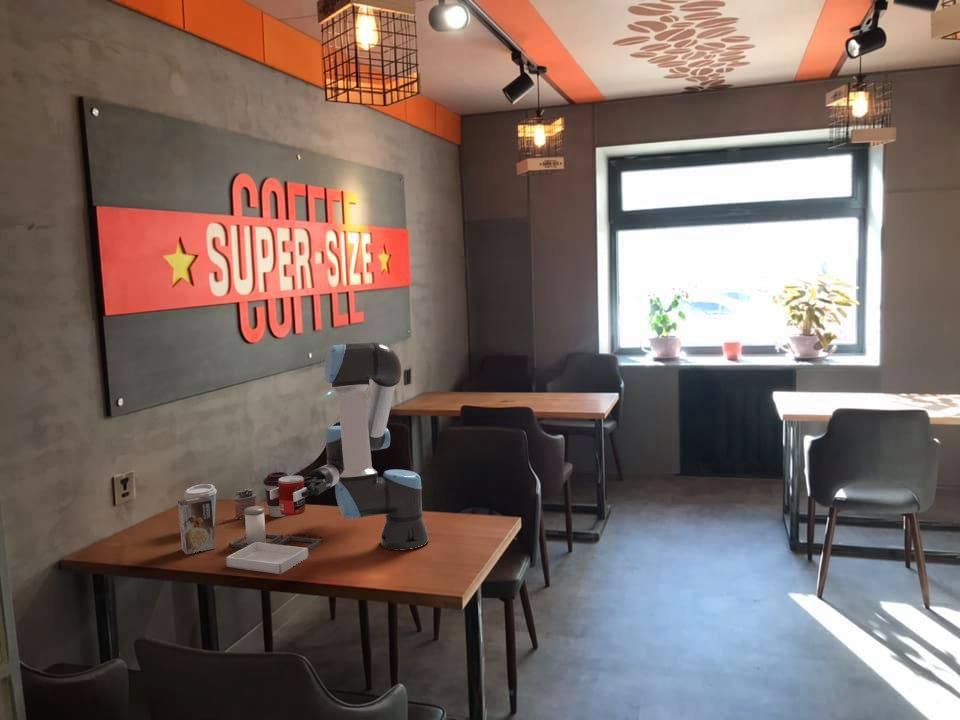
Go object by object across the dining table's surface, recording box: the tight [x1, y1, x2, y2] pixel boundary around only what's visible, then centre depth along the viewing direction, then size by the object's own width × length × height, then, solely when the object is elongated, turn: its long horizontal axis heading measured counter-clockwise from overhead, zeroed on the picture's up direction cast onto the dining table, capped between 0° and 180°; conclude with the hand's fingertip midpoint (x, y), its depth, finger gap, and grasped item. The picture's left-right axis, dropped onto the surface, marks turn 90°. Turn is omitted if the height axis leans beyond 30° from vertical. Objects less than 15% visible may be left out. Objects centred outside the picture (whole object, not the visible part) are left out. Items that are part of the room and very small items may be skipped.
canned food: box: [278, 475, 306, 517], centre depth 252 cm, size 8×8×11 cm
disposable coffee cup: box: [183, 483, 218, 527], centre depth 272 cm, size 11×11×15 cm
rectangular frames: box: [228, 532, 323, 552], centre depth 256 cm, size 27×12×1 cm, turn 68°
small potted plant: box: [233, 488, 257, 519], centre depth 287 cm, size 8×3×10 cm, turn 130°
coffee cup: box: [263, 471, 289, 518], centre depth 288 cm, size 10×10×15 cm
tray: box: [225, 542, 309, 575], centre depth 240 cm, size 19×14×3 cm
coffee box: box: [177, 496, 216, 555], centre depth 253 cm, size 9×6×16 cm
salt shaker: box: [244, 505, 267, 545], centre depth 258 cm, size 6×6×11 cm
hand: (282, 496), depth 247 cm, fingers closed on canned food, 8 cm apart
